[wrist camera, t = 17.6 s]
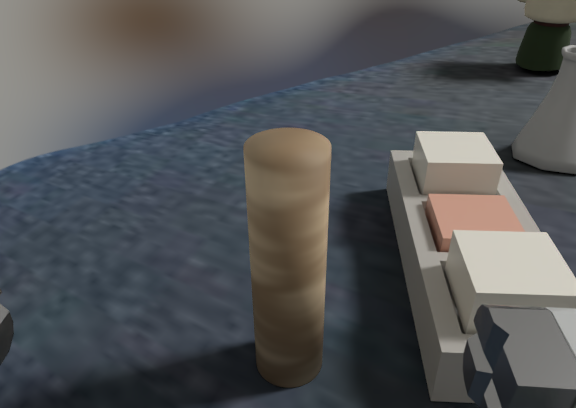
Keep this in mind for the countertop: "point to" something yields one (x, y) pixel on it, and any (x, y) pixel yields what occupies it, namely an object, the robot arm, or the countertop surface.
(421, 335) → the keypad bezel
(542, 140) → the flask
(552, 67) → the character mug
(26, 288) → the countertop surface
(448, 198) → the terracotta key
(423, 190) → the ivory key
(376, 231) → the countertop surface
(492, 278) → the ivory key
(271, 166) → the tan wooden cylinder
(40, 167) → the countertop surface
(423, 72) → the countertop surface
